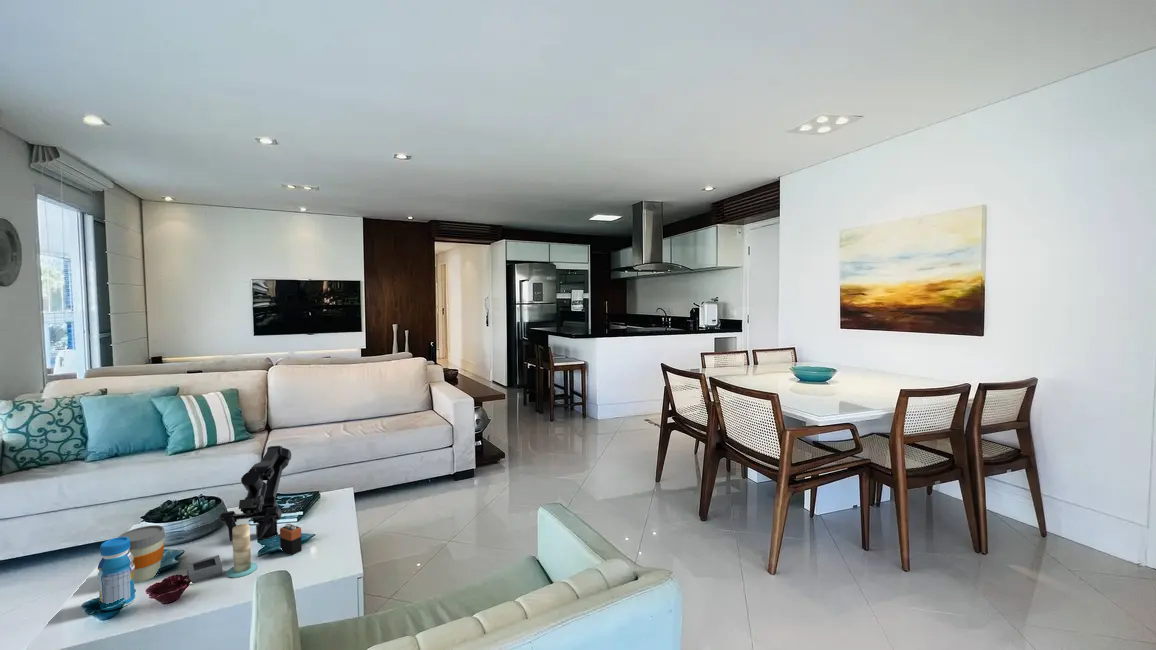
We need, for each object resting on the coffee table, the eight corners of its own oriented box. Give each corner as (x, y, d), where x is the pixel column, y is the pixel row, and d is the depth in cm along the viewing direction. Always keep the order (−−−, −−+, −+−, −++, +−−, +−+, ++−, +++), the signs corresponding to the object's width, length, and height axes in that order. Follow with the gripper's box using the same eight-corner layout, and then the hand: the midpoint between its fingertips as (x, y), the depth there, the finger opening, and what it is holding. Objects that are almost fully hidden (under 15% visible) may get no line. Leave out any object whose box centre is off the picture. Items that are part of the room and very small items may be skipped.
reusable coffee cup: (141, 565, 176) (140, 524, 175) (175, 566, 175) (174, 525, 175) (106, 585, 163) (105, 541, 162) (143, 586, 163) (142, 542, 162)
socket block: (219, 564, 177) (218, 554, 176) (222, 574, 170) (222, 564, 170) (187, 573, 171) (186, 563, 170) (189, 584, 164) (189, 574, 164)
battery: (291, 546, 190) (290, 521, 189) (302, 550, 187) (301, 525, 186) (279, 551, 186) (279, 525, 185) (291, 556, 183) (290, 529, 182)
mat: (255, 561, 179) (255, 559, 179) (259, 571, 172) (259, 569, 172) (224, 570, 173) (224, 568, 173) (228, 581, 166) (228, 579, 166)
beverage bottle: (113, 614, 148) (111, 549, 147) (91, 610, 150) (88, 546, 149) (143, 597, 157) (140, 536, 156) (121, 594, 158) (118, 533, 157)
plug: (245, 563, 176) (244, 522, 175) (254, 567, 174) (252, 525, 173) (230, 570, 171) (229, 528, 171) (239, 574, 169) (238, 531, 168)
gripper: (220, 490, 177) (207, 534, 168) (278, 485, 183) (269, 527, 173) (229, 503, 185) (218, 545, 176) (285, 497, 191) (277, 538, 181)
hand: (245, 539), depth 176 cm, fingers open, 9 cm apart
